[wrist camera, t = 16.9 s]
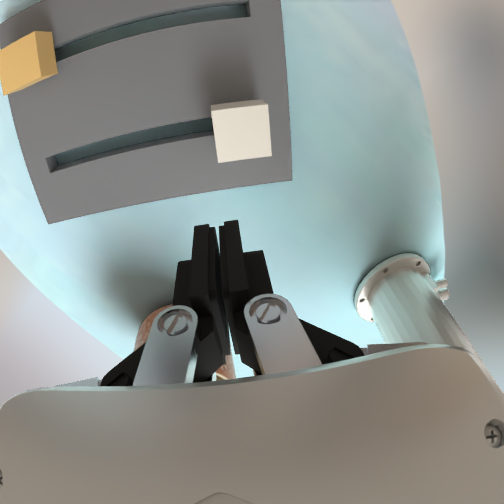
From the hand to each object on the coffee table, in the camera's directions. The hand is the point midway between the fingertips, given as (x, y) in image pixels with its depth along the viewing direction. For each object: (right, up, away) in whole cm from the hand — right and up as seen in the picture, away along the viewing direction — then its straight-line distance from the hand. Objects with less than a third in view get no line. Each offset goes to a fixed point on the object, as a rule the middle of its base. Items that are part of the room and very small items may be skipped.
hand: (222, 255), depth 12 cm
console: (-9, +15, +10) cm, 20 cm away
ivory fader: (0, +12, +14) cm, 18 cm away
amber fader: (-17, +18, +7) cm, 25 cm away
